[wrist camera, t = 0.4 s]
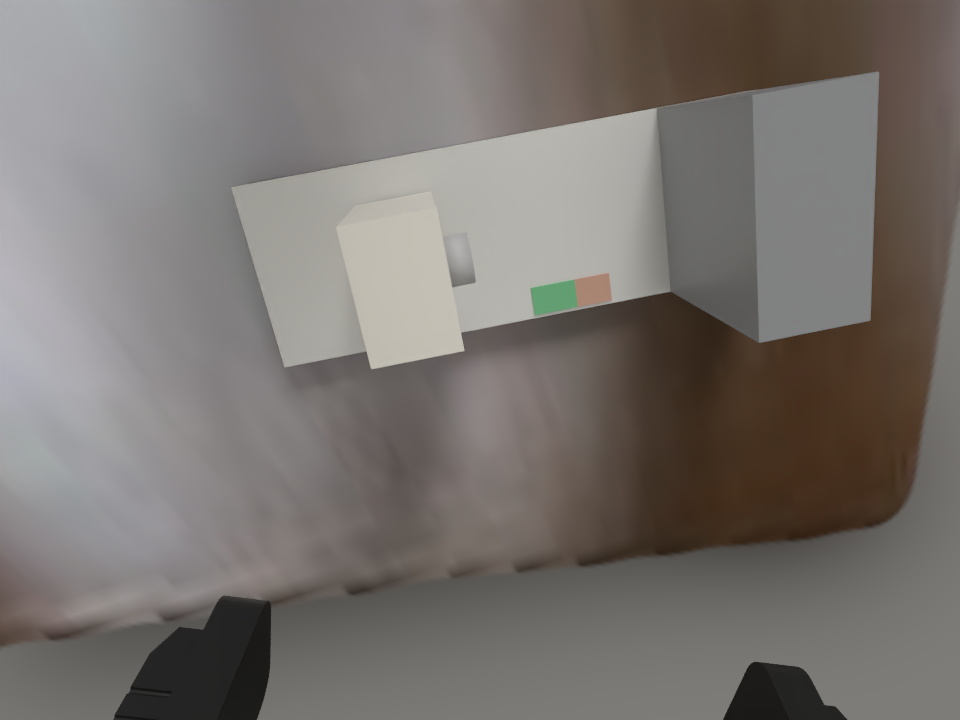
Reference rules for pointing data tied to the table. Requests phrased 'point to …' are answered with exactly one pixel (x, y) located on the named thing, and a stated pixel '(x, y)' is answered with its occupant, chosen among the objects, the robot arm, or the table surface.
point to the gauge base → (608, 218)
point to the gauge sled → (404, 278)
